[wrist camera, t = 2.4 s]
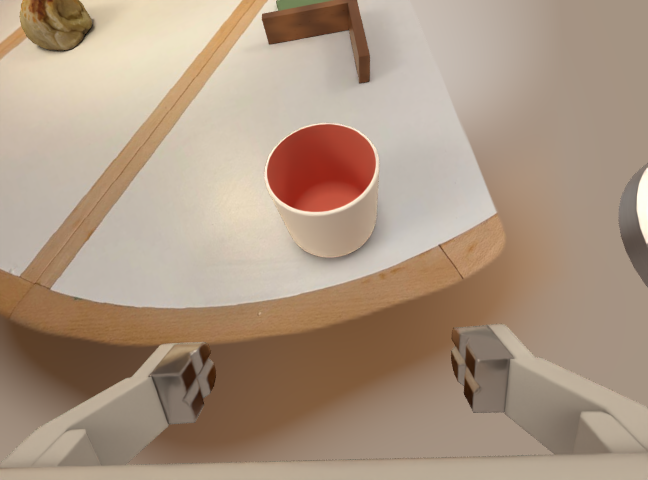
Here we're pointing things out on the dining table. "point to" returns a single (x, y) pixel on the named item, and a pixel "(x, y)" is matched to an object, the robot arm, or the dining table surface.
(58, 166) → the dining table surface
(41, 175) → the dining table surface
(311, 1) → the rag
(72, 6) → the pastry
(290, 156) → the cup
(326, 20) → the corner
